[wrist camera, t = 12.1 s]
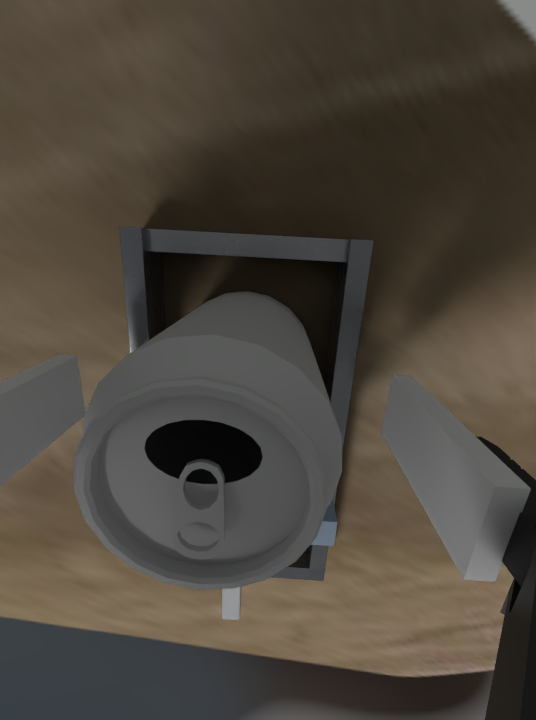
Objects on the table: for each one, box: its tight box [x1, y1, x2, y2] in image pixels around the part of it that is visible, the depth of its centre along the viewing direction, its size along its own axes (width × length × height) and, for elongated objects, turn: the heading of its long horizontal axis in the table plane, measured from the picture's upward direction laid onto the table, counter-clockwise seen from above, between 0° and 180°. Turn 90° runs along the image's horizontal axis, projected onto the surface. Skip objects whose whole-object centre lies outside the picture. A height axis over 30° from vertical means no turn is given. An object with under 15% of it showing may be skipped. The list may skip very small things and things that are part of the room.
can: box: [73, 291, 342, 590], centre depth 13 cm, size 8×8×12 cm
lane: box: [119, 227, 374, 581], centre depth 19 cm, size 12×21×2 cm, turn 177°
